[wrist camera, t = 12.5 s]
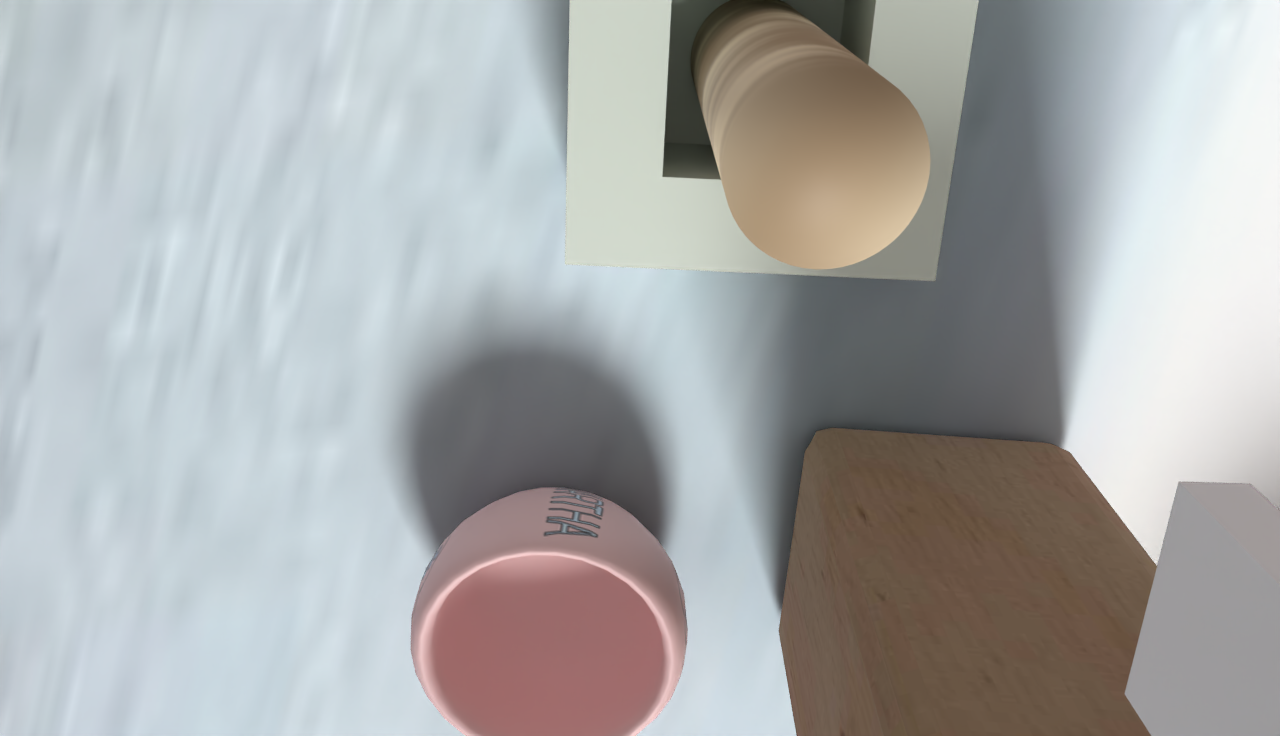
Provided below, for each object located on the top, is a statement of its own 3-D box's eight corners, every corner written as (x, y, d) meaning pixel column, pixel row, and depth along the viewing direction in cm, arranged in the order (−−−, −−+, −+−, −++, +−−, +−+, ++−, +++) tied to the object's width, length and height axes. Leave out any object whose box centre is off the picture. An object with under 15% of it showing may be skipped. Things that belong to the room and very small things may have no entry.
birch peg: (686, 121, 36) (716, 265, 22) (694, -9, 34) (730, 60, 20) (809, 126, 36) (915, 273, 22) (822, -3, 34) (945, 69, 20)
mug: (440, 441, 42) (407, 522, 36) (699, 468, 42) (706, 553, 36) (428, 694, 46) (398, 800, 41) (662, 717, 47) (663, 825, 41)
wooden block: (804, 415, 41) (928, 830, 22) (1070, 434, 41) (1408, 861, 23) (773, 636, 45) (856, 1145, 26) (1015, 652, 45) (1266, 1169, 27)
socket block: (578, 212, 38) (564, 264, 32) (585, -136, 34) (572, -145, 28) (894, 226, 38) (935, 281, 33) (941, -120, 34) (997, -125, 28)
